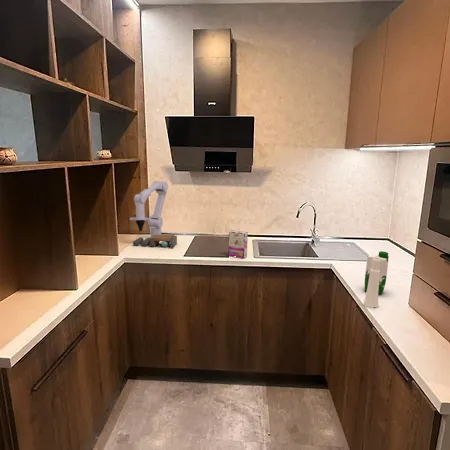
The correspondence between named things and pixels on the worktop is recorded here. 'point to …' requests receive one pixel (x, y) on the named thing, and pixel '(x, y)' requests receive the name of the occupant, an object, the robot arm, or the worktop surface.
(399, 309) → the worktop surface
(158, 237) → the slab
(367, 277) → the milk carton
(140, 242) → the roller bed
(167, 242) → the roller
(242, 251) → the candy bar box
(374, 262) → the cosmetic bottle
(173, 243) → the bar
